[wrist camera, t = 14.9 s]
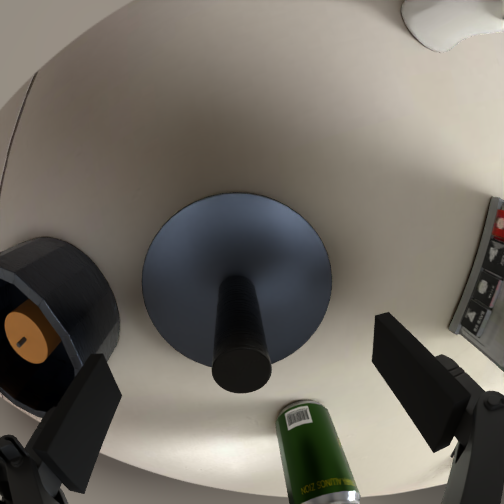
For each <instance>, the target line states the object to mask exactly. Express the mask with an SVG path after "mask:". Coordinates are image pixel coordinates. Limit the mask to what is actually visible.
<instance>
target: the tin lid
mask: <svg viewBox="0 0 504 504" xmlns="http://www.w3.org/2000/svg"><path fill="white" fill-rule="evenodd" d="M331 290H332V273H331V265H330V261H329V257H328V254H327V251H326V249H325V247H324V244H323V242H322V241H321V239H320V237H319V236H318V234H317V232H316V231H315V230H314V229H313V227H312V226H311V225H310V224H309V223H308V222H307V221H306V220H305V219H304V218H303V217H302V216H301V215H300V214H298V213H297V212H296V211H294V210H293V209H291V208H290V207H288V206H287V205H285V204H283V203H281V202H279V201H277V200H274V199H271V198H268V197H265V196H262V195H257V194H252V193H240V192H233V193H222V194H217V195H213V196H208V197H206V198H203V199H200V200H198V201H195V202H193V203H192V204H190V205H188V206H186V207H184V208H183V209H182V210H180V211H179V212H178V213H176V214H175V215H174V216H172V217H171V218H170V219H169V220H168V221H167V222H166V223H165V224H164V225H163V226H162V228H161V229H160V230H159V232H158V233H157V234H156V236H155V238H154V239H153V241H152V243H151V245H150V247H149V249H148V252H147V255H146V257H145V261H144V266H143V271H142V292H143V298H144V302H145V306H146V309H147V312H148V314H149V317H150V319H151V320H152V322H153V324H154V326H155V327H156V329H157V330H158V332H159V333H160V335H161V336H162V337H163V338H164V339H165V340H166V341H167V342H168V343H169V344H170V345H171V346H172V347H173V348H174V349H176V350H177V351H178V352H180V353H181V354H183V355H184V356H186V357H188V358H189V359H191V360H193V361H195V362H198V363H200V364H203V365H206V366H209V367H212V376H213V378H214V380H215V381H216V383H217V384H218V385H219V386H220V387H222V388H223V389H225V390H227V391H230V392H233V393H249V392H253V391H256V390H258V389H260V388H261V387H263V386H264V385H265V384H266V383H267V381H268V380H269V378H270V376H271V372H272V366H271V364H273V363H275V362H277V361H280V360H282V359H284V358H286V357H287V356H289V355H291V354H292V353H294V352H295V351H296V350H298V349H299V348H300V347H301V346H302V345H303V344H304V343H306V342H307V341H308V340H309V339H310V337H311V336H312V335H313V334H314V332H315V331H316V330H317V328H318V327H319V325H320V323H321V322H322V320H323V318H324V315H325V313H326V311H327V308H328V305H329V301H330V296H331Z"/></svg>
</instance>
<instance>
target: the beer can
mask: <svg viewBox="0 0 504 504" xmlns="http://www.w3.org/2000/svg"><path fill="white" fill-rule="evenodd" d="M276 432H277V437H278V443H279V448H280V454H281V460H282V465H283V471H284V476H285V482H286V487H287V493H288V498H289V503H290V504H360V503H359V500H360V494H359V491H358V488H357V486H356V483H355V480H354V477H353V475H352V472H351V469H350V467H349V464H348V462H347V459H346V456H345V454H344V451H343V448H342V446H341V443H340V440H339V438H338V435H337V433H336V430H335V427H334V425H333V422H332V419H331V417H330V414H329V412H328V410H327V409H326V408H325V407H324V406H323V405H321V404H320V403H318V402H315V401H311V400H304V401H298V402H295V403H292V404H290V405H288V406H287V407H285V408H284V409H283V410H282V411H281V412H280V414H279V416H278V419H277V421H276Z"/></svg>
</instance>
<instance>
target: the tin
mask: <svg viewBox="0 0 504 504" xmlns="http://www.w3.org/2000/svg"><path fill="white" fill-rule="evenodd" d="M27 299H30V300H31V301H32V302H33V303H35V304H36V305H37V306H38V307H39V309H40V310H41V312H42V313H43V314H44V316H45V317H46V319H47V320H48V321H49V323H50V324H51V326H52V327H53V328H54V330H55V331H56V332H57V334H58V335H59V336H60V338H61V340H62V341H61V342H60V343H59V344H58V346H57V347H56V348H55V349H54V350H53V352H52V353H51V354H50V355H49V356H48V358H47V359H46V360H45V361H44V362H42V363H39V364H35V363H31V362H29V361H27V360H25V359H24V358H22V357H21V356H20V355H19V354H18V353H17V352H16V351H15V350H14V348H13V347H12V346H11V344H10V342H9V340H8V338H7V335H6V332H5V319H6V317H7V315H8V314H9V313H10V312H12V311H13V310H14V309H16V308H17V307H18V306H19V305H21V304H22V303H23V302H25V301H26V300H27ZM119 330H120V320H119V313H118V308H117V304H116V301H115V298H114V295H113V293H112V290H111V288H110V286H109V284H108V282H107V281H106V279H105V277H104V276H103V274H102V273H101V272H100V270H99V269H98V267H97V266H96V265H95V264H94V263H93V262H92V261H91V260H90V258H88V257H87V256H86V255H85V254H84V253H83V252H82V251H80V250H79V249H77V248H76V247H75V246H73V245H71V244H69V243H67V242H65V241H62V240H59V239H56V238H51V237H41V238H35V239H32V240H29V241H25V242H22V243H20V244H18V245H15V246H13V247H11V248H9V249H7V250H4V251H2V252H0V392H1V393H2V394H3V395H4V396H5V397H6V398H7V399H9V400H10V401H11V402H12V403H13V404H15V405H16V406H18V407H20V408H22V409H24V410H26V411H27V412H29V413H31V414H33V415H35V416H37V417H41V418H43V417H44V415H45V414H46V412H48V411H49V410H50V409H51V408H52V407H53V406H54V407H56V406H57V405H58V403H59V401H60V400H61V398H62V397H63V395H64V394H65V392H66V390H67V389H68V387H69V386H70V384H71V383H72V381H73V380H74V378H75V376H76V375H77V373H78V372H79V370H80V369H81V367H82V366H83V364H84V363H85V361H86V360H87V358H88V357H89V356H90V354H100V353H103V354H104V356H105V359H106V361H108V359H109V358H110V356H111V354H112V352H113V351H114V349H115V347H116V346H117V341H118V337H119Z"/></svg>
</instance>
